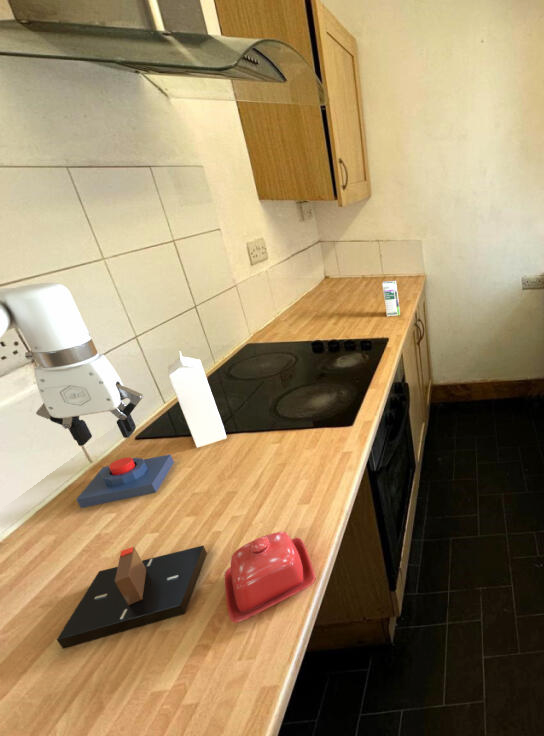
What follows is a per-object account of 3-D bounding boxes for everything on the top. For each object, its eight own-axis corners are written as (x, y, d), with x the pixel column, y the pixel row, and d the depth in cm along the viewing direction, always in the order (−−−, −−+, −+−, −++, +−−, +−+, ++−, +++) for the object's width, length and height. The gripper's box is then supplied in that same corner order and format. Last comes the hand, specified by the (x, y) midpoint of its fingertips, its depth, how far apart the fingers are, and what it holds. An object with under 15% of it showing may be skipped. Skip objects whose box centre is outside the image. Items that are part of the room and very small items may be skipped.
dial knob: (142, 599, 60) (128, 574, 58) (128, 605, 59) (113, 580, 57) (146, 569, 65) (133, 545, 63) (133, 575, 64) (120, 550, 62)
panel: (62, 649, 56) (55, 639, 55) (104, 579, 65) (98, 570, 65) (185, 614, 60) (180, 604, 59) (207, 553, 70) (203, 544, 69)
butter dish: (302, 539, 72) (291, 501, 69) (319, 588, 64) (308, 548, 60) (225, 574, 66) (208, 535, 63) (232, 634, 58) (213, 592, 54)
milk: (196, 448, 96) (162, 363, 87) (195, 436, 101) (161, 353, 92) (227, 438, 100) (197, 355, 91) (224, 427, 104) (195, 346, 95)
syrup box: (386, 316, 180) (381, 284, 174) (386, 312, 185) (382, 280, 179) (400, 315, 181) (395, 283, 175) (400, 311, 187) (396, 279, 181)
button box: (80, 508, 79) (71, 492, 78) (107, 475, 88) (99, 460, 86) (156, 492, 83) (148, 476, 81) (174, 462, 92) (168, 447, 90)
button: (108, 477, 82) (105, 470, 81) (117, 466, 85) (114, 459, 84) (130, 473, 83) (127, 466, 82) (138, 462, 86) (135, 455, 86)
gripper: (-14, 370, 68) (38, 459, 75) (116, 354, 73) (153, 439, 80) (18, 353, 74) (63, 436, 82) (135, 339, 79) (168, 419, 87)
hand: (108, 437), depth 81 cm, fingers open, 6 cm apart
